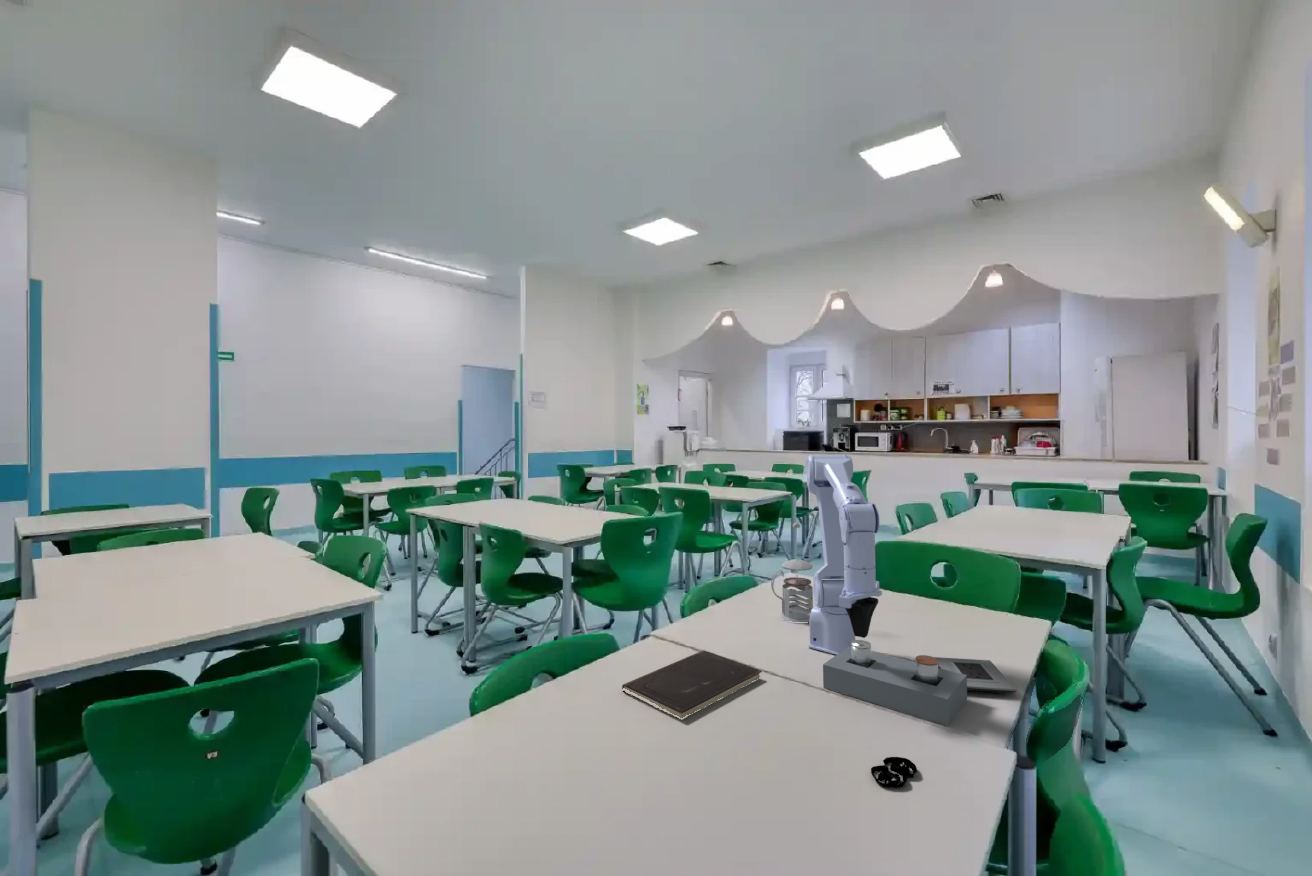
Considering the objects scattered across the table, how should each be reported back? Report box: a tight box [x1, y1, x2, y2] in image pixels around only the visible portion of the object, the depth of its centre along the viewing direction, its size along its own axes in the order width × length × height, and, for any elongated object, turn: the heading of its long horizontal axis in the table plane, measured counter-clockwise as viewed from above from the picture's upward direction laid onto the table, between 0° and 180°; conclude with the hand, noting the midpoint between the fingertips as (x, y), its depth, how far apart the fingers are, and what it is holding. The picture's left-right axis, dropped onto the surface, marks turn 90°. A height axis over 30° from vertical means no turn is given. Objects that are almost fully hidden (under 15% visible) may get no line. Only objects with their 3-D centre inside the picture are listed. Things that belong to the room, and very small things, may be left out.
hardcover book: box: [621, 649, 763, 718], centre depth 111 cm, size 16×23×2 cm
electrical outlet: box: [933, 656, 1018, 694], centre depth 110 cm, size 13×10×2 cm
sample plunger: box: [851, 639, 872, 668], centre depth 110 cm, size 4×4×5 cm
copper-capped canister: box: [915, 654, 939, 686], centre depth 102 cm, size 4×4×5 cm
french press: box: [770, 522, 814, 622], centre depth 149 cm, size 10×12×25 cm
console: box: [822, 646, 968, 727], centre depth 106 cm, size 22×12×4 cm, turn 48°
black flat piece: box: [870, 756, 918, 789], centre depth 81 cm, size 5×8×1 cm, turn 130°
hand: (860, 636), depth 110 cm, fingers closed
